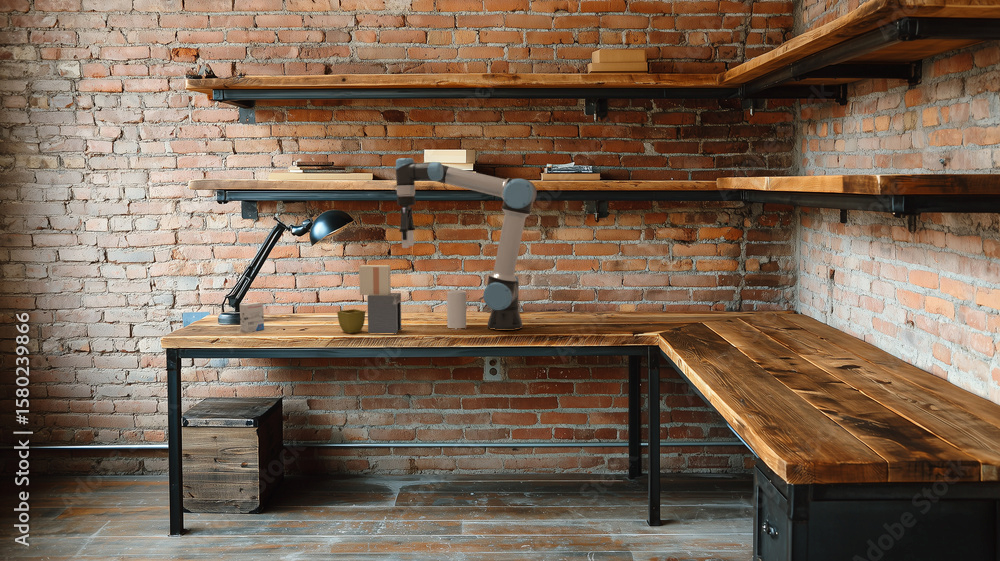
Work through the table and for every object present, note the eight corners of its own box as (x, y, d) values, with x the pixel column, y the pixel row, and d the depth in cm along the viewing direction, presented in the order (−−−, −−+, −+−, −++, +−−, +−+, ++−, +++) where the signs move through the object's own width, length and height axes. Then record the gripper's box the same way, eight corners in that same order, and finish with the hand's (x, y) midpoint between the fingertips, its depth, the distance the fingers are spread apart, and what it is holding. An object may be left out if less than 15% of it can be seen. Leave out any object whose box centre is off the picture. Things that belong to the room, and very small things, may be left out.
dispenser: (401, 330, 314) (400, 292, 312) (396, 334, 304) (396, 296, 303) (373, 329, 315) (372, 292, 313) (368, 334, 305) (367, 295, 303)
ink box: (258, 328, 318) (257, 301, 316) (264, 329, 315) (263, 302, 313) (240, 331, 311) (238, 303, 310) (246, 332, 308) (245, 304, 307)
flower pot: (336, 332, 310) (336, 311, 309) (354, 329, 316) (354, 308, 315) (348, 334, 303) (348, 313, 302) (366, 332, 309) (365, 311, 308)
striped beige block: (390, 293, 310) (390, 265, 309) (388, 295, 305) (387, 266, 304) (362, 293, 311) (362, 265, 309) (359, 294, 306) (359, 266, 304)
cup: (449, 329, 315) (449, 292, 313) (445, 326, 323) (445, 290, 321) (468, 328, 317) (468, 292, 315) (463, 325, 325) (463, 289, 323)
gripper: (402, 196, 319) (404, 245, 321) (391, 196, 294) (393, 249, 296) (419, 195, 318) (421, 244, 321) (410, 195, 294) (412, 248, 296)
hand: (408, 246), depth 309 cm, fingers open, 13 cm apart
